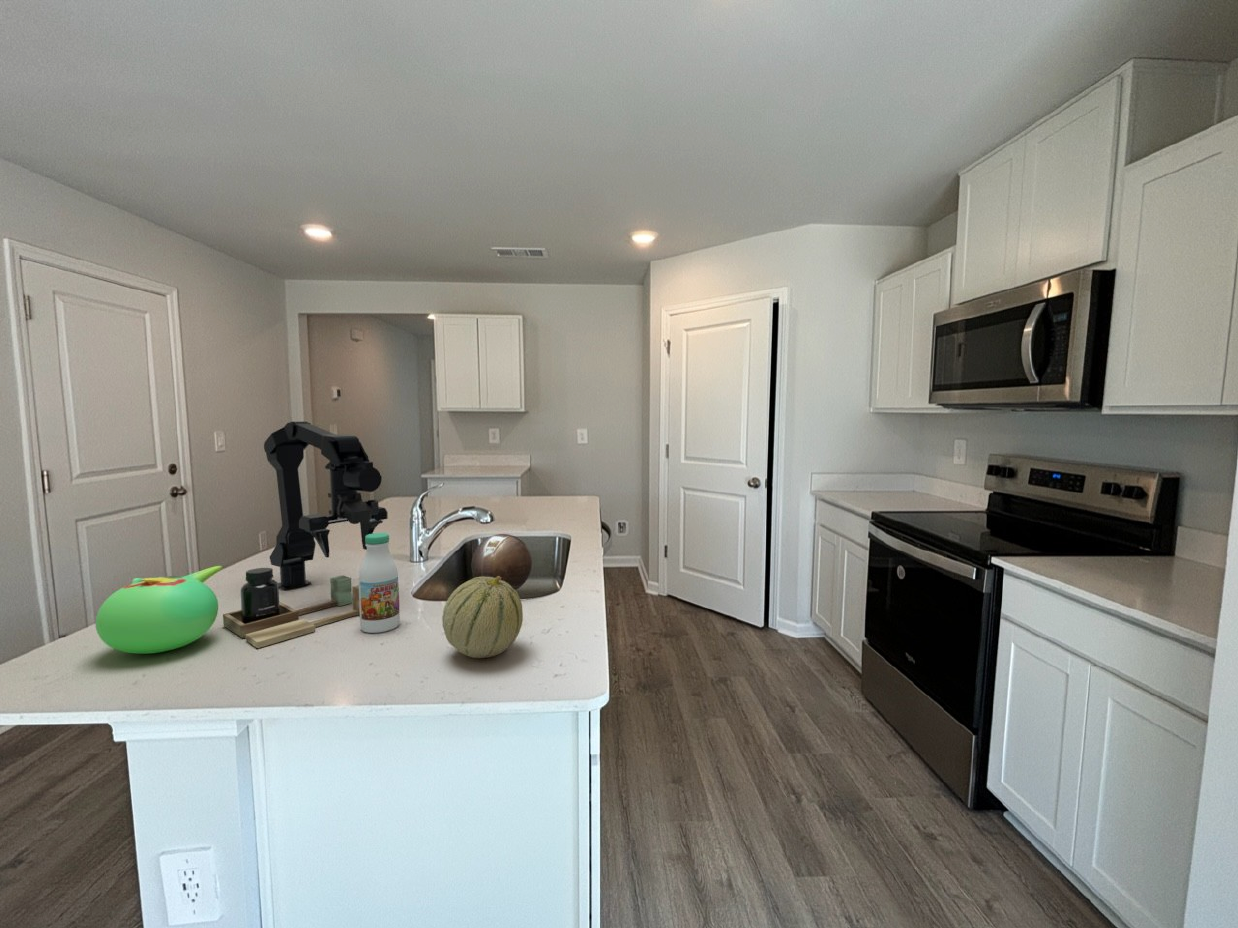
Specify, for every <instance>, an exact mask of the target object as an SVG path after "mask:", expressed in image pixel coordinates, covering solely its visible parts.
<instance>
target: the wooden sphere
mask: <svg viewBox="0 0 1238 928" xmlns="http://www.w3.org/2000/svg"><path fill="white" fill-rule="evenodd" d="M470 563H471V566H470V567H471V572H472V577H473V578H476V577H493V578H496V577H497V576H500V577H501V580H502V581H505V582H506V583H508V584H509V585H510V586H511V587H512V588H513V589H514V590H515V591H517V590H519V589H520V588H521V587H522V586H524V584H525V583H526V582H527V580H528V578H529V577H530V574H531V572H532V565H533V560H532V554H531V552H530V550H529V547H528V546H527V545H526V543H525V542H524V541H522V540H521V539H520V538H518V537H517V536H514V535H511V534H508V533H507V534H506V533H499V534H494V535H491V536H489V537H486V538H485V539H484V540H483V541H482V542H480V543H479V544H478V546H477V547H476V548H475V549H474V552H473V554H472V558H471V562H470Z"/></svg>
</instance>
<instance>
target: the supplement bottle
mask: <svg viewBox="0 0 1238 928" xmlns="http://www.w3.org/2000/svg"><path fill="white" fill-rule="evenodd" d="M273 571H274V570H273V568H271V567H258V568H257V567H256V568H252V569H249V570H247V571H246V572H245V582H246V583H244V584H243V585H242V586H241V588H240V607H241V608H240V610H241V615H242V623H244V624H247V623H251V622H255V621H258V620H262V619H266V618H270V617H274V616H277V615H280V609H279V602H280V587H279V585H278V583H279V582H278V581H276V580H274V579H273V578H274V574H273V573H274V572H273Z"/></svg>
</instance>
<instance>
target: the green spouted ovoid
mask: <svg viewBox="0 0 1238 928" xmlns="http://www.w3.org/2000/svg"><path fill="white" fill-rule="evenodd" d="M221 569H223V566H222V565H216V566H215V565H214V566H211V567H207V568H204V569H202V570H199V571H196V572H193V573H190V574H187V575H184V576H175V575H170V576H158V577H145V578H141V577H135V578H132V580H131V583H130V584H128V585H126V586H123V587H121V588H119V589H118V590H116V591H115V592H113V593H112V594H111V595H109V597H108V598H106V599H105V600H104V602H103V603H102V604H101V606H100V608H99V609H98V611H97V614H96V617H95V629H96V633H97V635H98V637H99V638H100V640H101V641H102V642H103V643H104V644H106V645H107V646H108V647H110V648H111V649H114V650H116V651H118V652H119V651H120V652H124V653H129V654H136V655H137V654H138V655H139V654H140V655H145V654H146V655H148V654H158V653H164V652H168V651H172V650H173V651H174V650H176V649H180V648H182V647H185V646H187V645H189V644H191V643H193V642H195V641H196V640H198V639H200V638H201V637H202V636H204V635H205V634H206V633H207V632H208V631H209V630H210V629H211V627H212V626H213V625H214V623H215V621H216V619H217V617H218V614H219V613H218V612H219V602H218V601H219V600H218V598H217V596H216V594H215V591H213V590H212V588H211V587H209V586H208V585H207V584H205V582H206V581H207V580H209V579H210V578H212V577H213V576H214V575H216V574H217V573H218V572H219V571H221Z"/></svg>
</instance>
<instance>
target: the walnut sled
mask: <svg viewBox="0 0 1238 928" xmlns="http://www.w3.org/2000/svg"><path fill="white" fill-rule="evenodd" d="M329 579H330V580H329V581H330V601H326V602H323V603H318V604H316V605H315V604H314V605H311V606H307V607H303V608H299V609H295V608H293V607H290V606H289V605H287V604H285V603H283V602H281V601H279V609H280V615H277V616H274V617H270V618H266V619H262V620H258V621H255V622H251V623H247V624H244V623H242V615H241V609H239V610H235V611H231V612H227V613H222V620H223V621H222V623H223V624H222V625H223V627H225V628H227V630H229V631H230V632H233V633H234V634H236V635H237V636H239V637H240V638H241V639H244V638H245V639H246V637H245V635H246V634H249V633H253V632H256V631H260V630H264V629H267V628H271V627H275V626H278V625H282V624H285V623H289V622H293V621H296V620H300V616H301V615H304V614H309V613H313V612H317V611H319V610H323V609H327V608H330V607H335V606H338V607H341V606H345V605H348V604H349V605H350V604H353V592H352V587H353V586H352V578H351V577H348V576H346V575H344V574H343V575H338V576H334V577H330V578H329Z"/></svg>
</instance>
